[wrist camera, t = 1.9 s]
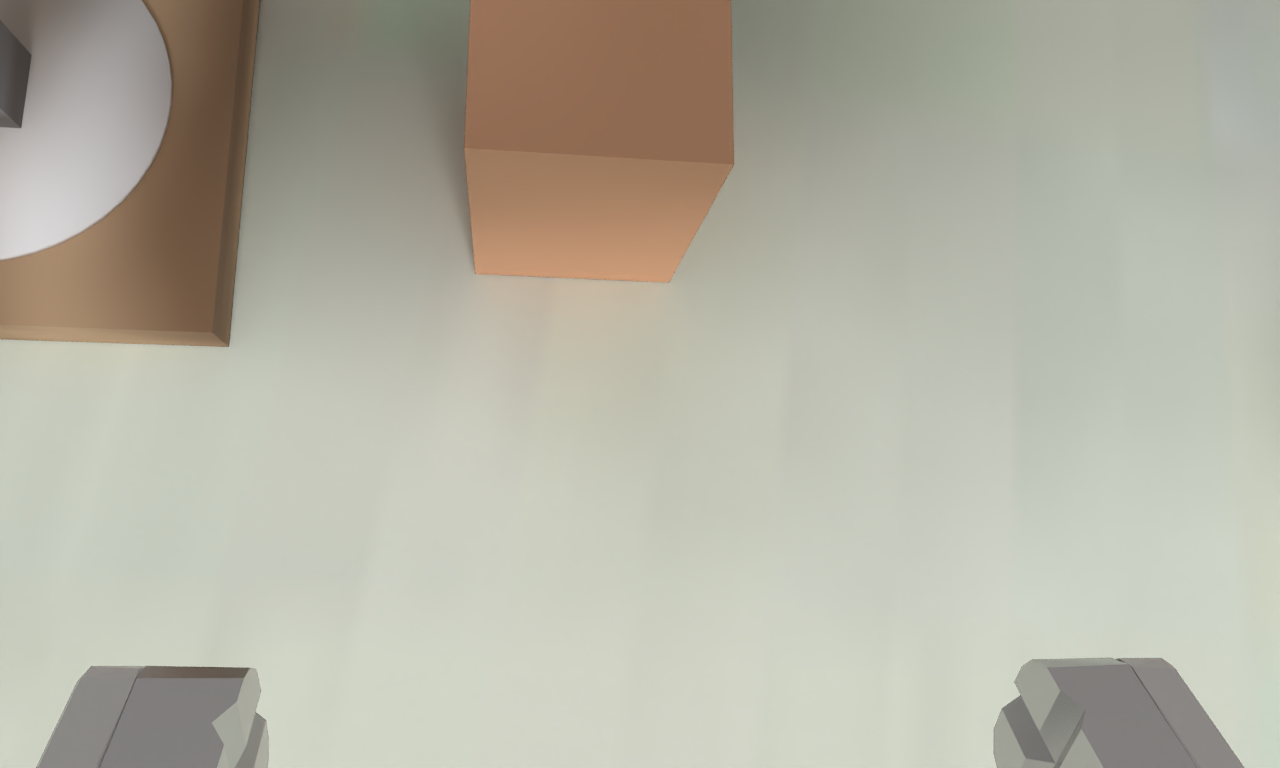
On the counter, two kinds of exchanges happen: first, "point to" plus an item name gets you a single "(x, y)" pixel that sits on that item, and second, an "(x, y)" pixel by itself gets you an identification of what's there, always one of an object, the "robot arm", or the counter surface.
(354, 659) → the counter surface
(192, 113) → the switch
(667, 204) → the orange rectangular block
